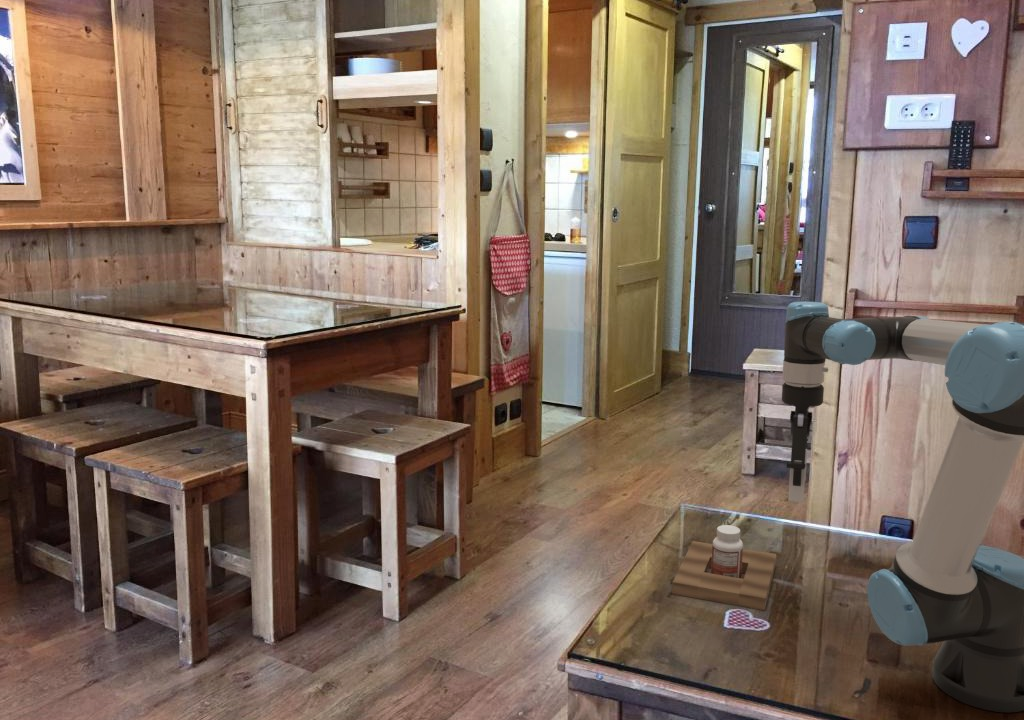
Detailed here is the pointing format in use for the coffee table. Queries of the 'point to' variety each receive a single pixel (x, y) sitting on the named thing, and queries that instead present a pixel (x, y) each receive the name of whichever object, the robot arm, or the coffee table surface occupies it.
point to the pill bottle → (727, 552)
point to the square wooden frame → (725, 578)
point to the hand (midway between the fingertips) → (797, 490)
